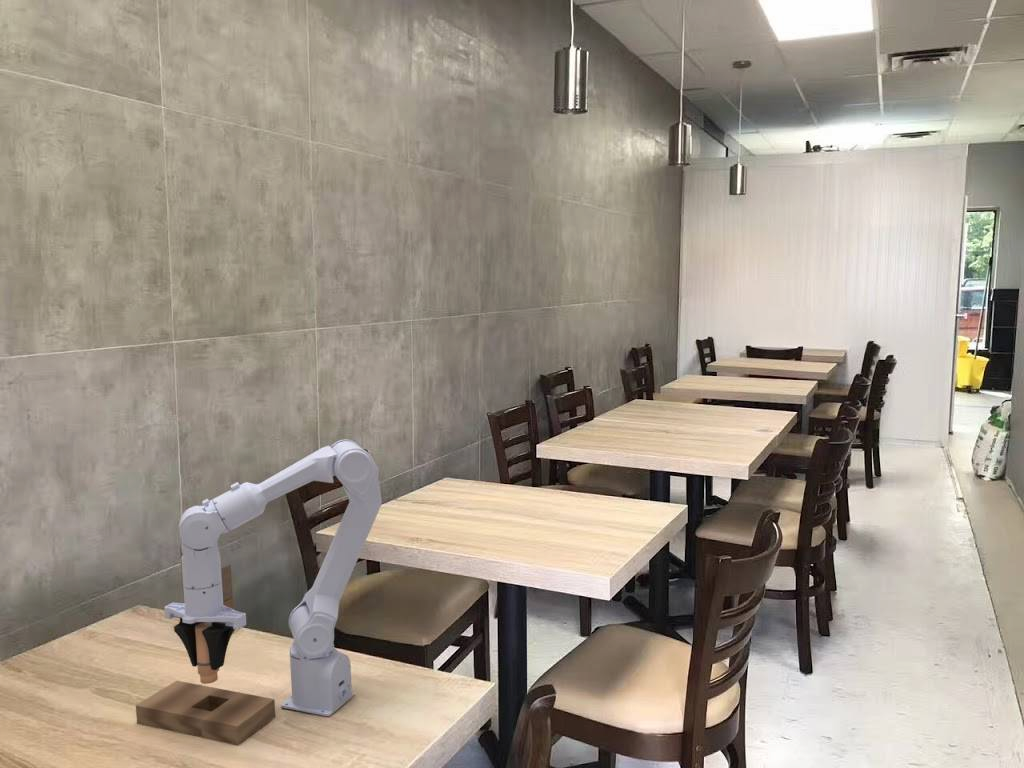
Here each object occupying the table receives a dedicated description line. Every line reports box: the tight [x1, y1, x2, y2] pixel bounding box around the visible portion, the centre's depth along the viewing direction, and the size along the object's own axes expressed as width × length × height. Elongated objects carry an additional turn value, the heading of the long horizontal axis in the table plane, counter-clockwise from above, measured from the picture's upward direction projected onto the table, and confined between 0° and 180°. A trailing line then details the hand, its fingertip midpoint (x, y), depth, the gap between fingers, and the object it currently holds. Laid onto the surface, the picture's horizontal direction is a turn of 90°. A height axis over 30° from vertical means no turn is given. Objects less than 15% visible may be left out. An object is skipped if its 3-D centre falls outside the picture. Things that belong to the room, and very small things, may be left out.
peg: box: [195, 622, 220, 685], centre depth 133 cm, size 3×3×9 cm
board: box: [135, 680, 276, 746], centre depth 134 cm, size 20×9×3 cm, turn 69°
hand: (207, 665), depth 133 cm, fingers closed on peg, 3 cm apart
